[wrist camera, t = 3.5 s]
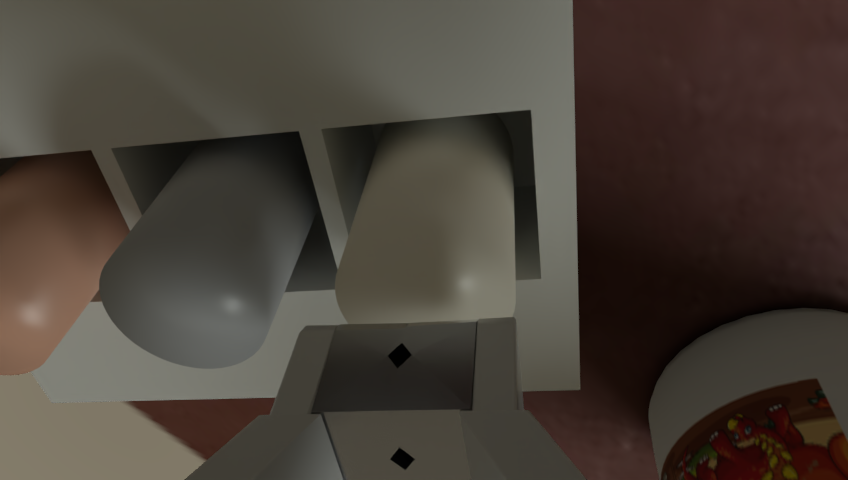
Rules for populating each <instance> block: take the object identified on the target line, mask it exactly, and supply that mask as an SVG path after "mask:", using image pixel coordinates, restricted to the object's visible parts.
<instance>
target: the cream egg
mask: <svg viewBox="0 0 848 480" xmlns="http://www.w3.org/2000/svg"><path fill="white" fill-rule="evenodd" d="M335 294H336V299H337V303H338V306H339V308H340V311H341V313H342V314H343V316H344V318H345V320H346V321H347V322H348V324H382V323H416V322H436V321H456V320H476V319H478V320H479V319H485V318H502V317H512V316H513V313H514V310H515V304H516V277H515V220H514V163H513V145H512V140H511V137H510V134H509V132H508V130H507V128H506V126H505V124H504V123H503V121H502V120H501V119H500V117H499V116H498V115H497V114H496V113H489V114H479V115H468V116H457V117H446V118H435V119H424V120H413V121H402V122H391V123H386V124H385V126H384V128H383V130H382V133H381V136H380V139H379V142H378V146H377V149H376V152H375V155H374V158H373V161H372V164H371V167H370V171H369V174H368V177H367V180H366V183H365V186H364V189H363V192H362V196H361V199H360V202H359V205H358V208H357V211H356V214H355V217H354V221H353V224H352V227H351V230H350V233H349V236H348V239H347V242H346V246H345V249H344V252H343V255H342V258H341V261H340V264H339V268H338V271H337V274H336V279H335Z"/></svg>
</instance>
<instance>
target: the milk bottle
mask: <svg viewBox="0 0 848 480" xmlns="http://www.w3.org/2000/svg"><path fill="white" fill-rule="evenodd" d="M648 418H649V426H650V432H651V438H652V444H653V450H654V455H655V460H656V465H657V470H658V475H659V480H848V313H845V312H840V311H836V310H832V309H814V308H795V309H783V310H773V311H768V312H764V313H760V314H755V315H750V316H746V317H743V318H740V319H738V320H735V321H732V322H730V323H727V324H724V325H721V326H719V327H717V328H715V329H714V330H712V331H710V332H708V333H706V334H704V335H702V336H700V337H698V338H697V339H696V340H694V341H693V342H692V343H691V344H689V345H688V346H686V347H685V348H684V349H682V350H681V351H680V352H679V353H678V354H677V355H676V356H675V357H674V358H673V360H672V361H671V362H670V363H669V364H668V365H667V366H666V367H665V369H664V371H663V372H662V374H661V376H660V377H659V379H658V381H657V382H656V385H655V388H654V391H653V394H652V397H651V400H650V405H649V413H648Z"/></svg>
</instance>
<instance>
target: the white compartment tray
mask: <svg viewBox="0 0 848 480" xmlns="http://www.w3.org/2000/svg"><path fill="white" fill-rule="evenodd" d="M489 113H496V114H497V115H498V116H499V117H500V119H501V120H502V121H503V123H504V124H505V126H506V128H507V130H508V132H509V134H510V137H511V140H512V145H513V163H514V220H515V277H516V304H515V310H514V313H513V316H512V317H514V318H515V319H516V323H517V331H518V343H519V355H520V366H521V378H522V391H557V390H580V352H579V302H578V252H577V202H576V152H575V102H574V52H573V2H572V0H0V176H2V175H3V174H4V173H5V172H6V171H7V170H9V169H10V168H11V167H12V166H13V165H14V164H16V163H17V162H18V161H19V160H20V159H21V158H23V157H24V156H32V155H42V154H53V153H64V152H75V151H86V150H91V151H92V153H93V155H94V157H95V159H96V161H97V163H98V165H99V168H100V170H101V172H102V174H103V176H104V178H105V180H106V182H107V184H108V186H109V188H110V190H111V192H112V194H113V196H114V199H115V201H116V203H117V205H118V207H119V209H120V211H121V213H122V215H123V217H124V219H125V221H126V223H127V225H128V227H129V230H130V231H131V230H132V228H133V227H134V226H135V224H136V223H137V222H138V221H139V219H140V218H141V217H142V215H143V214H144V213H145V211H146V210H147V209H148V208H149V206H150V205H151V204H152V202H153V201H154V200H155V198H156V197H157V196H158V195H159V193H160V192H161V191H162V189H163V188H164V187H165V185H166V184H167V183H168V182H169V180H170V179H171V178H172V176H173V175H174V174H175V173H176V171H177V170H178V169H179V167H180V166H181V165H182V163H183V162H184V161H185V160H186V158H187V157H188V156H189V154H190V153H191V152H192V150H193V149H194V148H195V147H196V145H197V144H198V143H199V141H200V140H206V139H217V138H228V137H239V136H250V135H261V134H271V133H282V132H293V131H299V133H300V137H301V140H302V144H303V148H304V151H305V155H306V158H307V162H308V165H309V169H310V173H311V176H312V180H313V183H314V187H315V191H316V194H317V198H318V201H319V208H318V210H317V213H316V215H315V218H314V220H313V223H312V225H311V228H310V230H309V232H308V235H307V237H306V240H305V242H304V245H303V247H302V250H301V252H300V255H299V257H298V260H297V262H296V265H295V267H294V270H293V272H292V275H291V277H290V280H289V282H288V284H287V287H286V289H285V292H284V294H283V297H282V299H281V302H280V304H279V307H278V309H277V312H276V314H275V317H274V319H273V322H272V324H271V327H270V329H269V332H268V334H267V336H266V339H265V341H264V343H263V345H262V346H261V347H260V349H259V350H258V351H257V352H256V353H255V354H254V355H253V356H251V357H250V358H248V359H247V360H245V361H243V362H241V363H239V364H236V365H233V366H229V367H224V368H215V369H201V368H192V367H187V366H182V365H178V364H175V363H171V362H169V361H166V360H163V359H161V358H159V357H157V356H154V355H152V354H150V353H149V352H147V351H145V350H144V349H142V348H140V347H139V346H138V345H136V344H135V343H133V342H132V341H131V340H130V339H128V338H127V337H126V336H125V335H124V334H123V333H122V332H121V331H120V330H119V329H118V328H117V327H116V325H115V324H114V323H113V322H112V320H111V319H110V317H109V316H108V314H107V312H106V310H105V308H104V306H103V303H102V300H101V297H100V291H99V290H98V292H97V293H96V294H95V296H94V297H93V298H92V300H91V301H90V302H89V304H88V305H87V306H86V308H85V309H84V310H83V312H82V313H81V314H80V316H79V317H78V319H77V320H76V321H75V323H74V324H73V325H72V327H71V328H70V329H69V331H68V332H67V333H66V335H65V336H64V337H63V339H62V340H61V341H60V343H59V344H58V345H57V347H56V348H55V349H54V351H53V352H52V353H51V355H50V356H49V357H48V359H47V360H46V361H45V363H44V364H43V365H41V366H40V367H39V368H37V369H35V370H33V371H31V373H32V374H33V376H34V377H35V379H36V380H37V382H38V383H39V385H40V386H41V388H42V389H43V390H44V392H45V394H46V395H47V397H48V398H49V399H50V401H51V402H52V403H64V402H65V403H66V402H107V401H148V400H189V399H230V398H271V397H276V396H277V393H278V390H279V387H280V385H281V382H282V379H283V376H284V374H285V371H286V368H287V365H288V362H289V360H290V357H291V354H292V351H293V349H294V346H295V343H296V340H297V337H298V335H299V333H300V331H301V330H302V329H303V328H304V327H305V326H307V325H340V324H348V322H347V321H346V320H345V318H344V316H343V314H342V313H341V311H340V308H339V306H338V303H337V299H336V294H335V279H336V274H337V271H338V268H339V264H340V261H341V258H342V255H343V252H344V249H345V246H346V242H347V239H348V236H349V233H350V230H351V227H352V224H353V221H354V217H355V214H356V211H357V208H358V205H359V202H360V199H361V196H362V192H363V189H364V186H365V183H366V180H367V177H368V174H369V171H370V167H371V164H372V161H373V158H374V155H375V152H376V149H377V146H378V142H379V139H380V136H381V133H382V130H383V128H384V126H385V124H386V123H391V122H402V121H413V120H424V119H435V118H446V117H457V116H468V115H479V114H489Z"/></svg>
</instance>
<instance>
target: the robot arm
mask: <svg viewBox="0 0 848 480" xmlns="http://www.w3.org/2000/svg"><path fill="white" fill-rule="evenodd" d="M185 480H587V479H586V478H585V477H584V476H583V475H582V473H581V472H580V471H579V470H578V469H577V467H576V466H575V465H574V464H573V463H572V461H571V460H570V459H569V458H568V457H567V455H566V454H565V453H564V452H563V451H562V449H561V448H560V447H559V446H558V445H557V443H556V442H555V441H554V440H553V439H552V437H551V436H550V435H549V434H548V433H547V431H546V430H545V429H544V428H543V427H542V425H541V424H540V423H539V422H538V421H537V419H536V418H535V417H534V416H533V415H532V413H531V412H530V411H529V410H524V405H523V391H522V378H521V366H520V355H519V343H518V331H517V323H516V319H515V318H514V317H502V318H485V319H479V320H478V319H476V320H456V321H436V322H416V323H382V324H340V325H307V326H305V327H304V328H303V329H302V330H301V331H300V333H299V335H298V337H297V340H296V343H295V346H294V349H293V351H292V354H291V357H290V360H289V362H288V365H287V368H286V371H285V374H284V376H283V379H282V382H281V385H280V387H279V390H278V393H277V396H276V399H275V401H274V404H273V407H272V410H271V412H270V415H259V416H258V417H257V418H256V419H254V420H253V421H252V422H251V423H250V424H249V425H248V426H246V427H245V428H244V429H243V430H242V431H241V432H239V433H238V434H237V435H236V436H235V437H234V438H232V439H231V440H230V441H229V442H228V443H227V444H225V445H224V446H223V447H222V448H221V449H220V450H218V451H217V452H216V453H215V454H214V455H213V456H211V457H210V458H209V459H208V460H207V461H206V462H204V463H203V464H202V465H201V466H200V467H199V468H198V469H196V470H195V471H194V472H193V473H192V474H191V475H189V476H188V477H187V478H186V479H185Z"/></svg>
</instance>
